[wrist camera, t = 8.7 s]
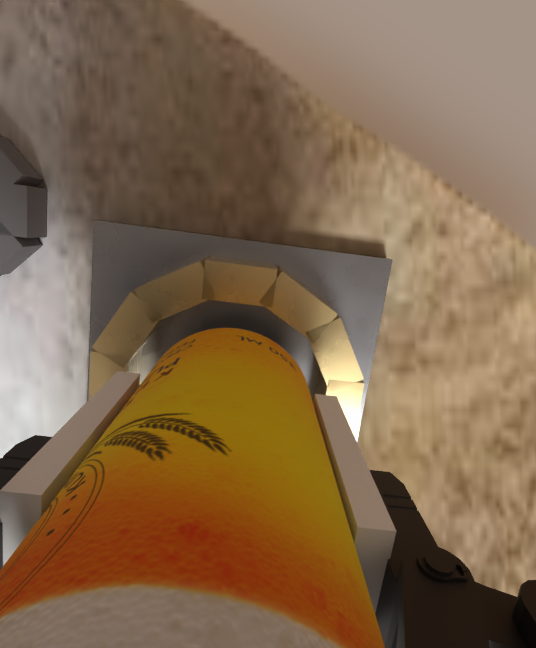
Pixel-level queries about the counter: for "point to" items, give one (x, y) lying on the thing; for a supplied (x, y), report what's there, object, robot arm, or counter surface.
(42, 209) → the ring
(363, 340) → the collar block
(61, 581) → the beer can
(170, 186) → the counter surface
